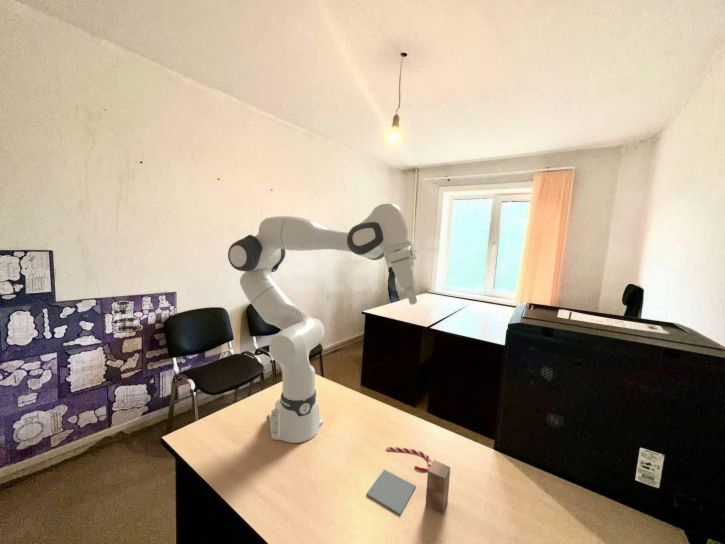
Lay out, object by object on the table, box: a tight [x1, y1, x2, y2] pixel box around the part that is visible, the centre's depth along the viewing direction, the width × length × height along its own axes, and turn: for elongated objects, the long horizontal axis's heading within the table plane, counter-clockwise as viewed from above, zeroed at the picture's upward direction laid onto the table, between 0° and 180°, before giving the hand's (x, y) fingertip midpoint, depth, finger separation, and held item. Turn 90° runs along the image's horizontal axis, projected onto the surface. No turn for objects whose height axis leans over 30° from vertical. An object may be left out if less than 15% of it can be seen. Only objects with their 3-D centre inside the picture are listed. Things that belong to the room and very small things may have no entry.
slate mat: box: [366, 469, 417, 516], centre depth 79 cm, size 10×10×1 cm
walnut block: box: [425, 459, 451, 516], centre depth 75 cm, size 4×4×10 cm
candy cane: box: [386, 446, 433, 473], centre depth 91 cm, size 8×1×15 cm
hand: (414, 303), depth 82 cm, fingers open, 8 cm apart
